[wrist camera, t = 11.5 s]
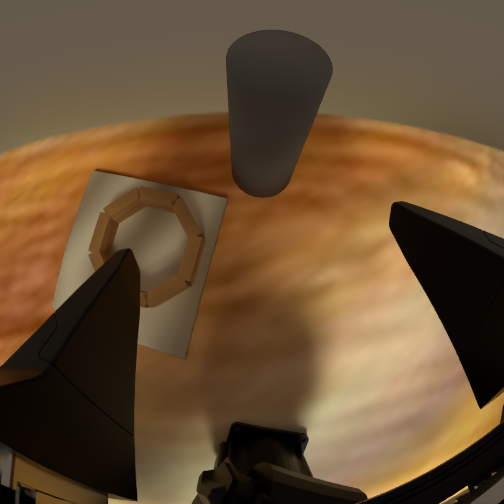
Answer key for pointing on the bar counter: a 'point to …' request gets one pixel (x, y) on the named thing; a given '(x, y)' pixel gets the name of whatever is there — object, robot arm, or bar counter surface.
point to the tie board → (147, 250)
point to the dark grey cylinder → (272, 105)
